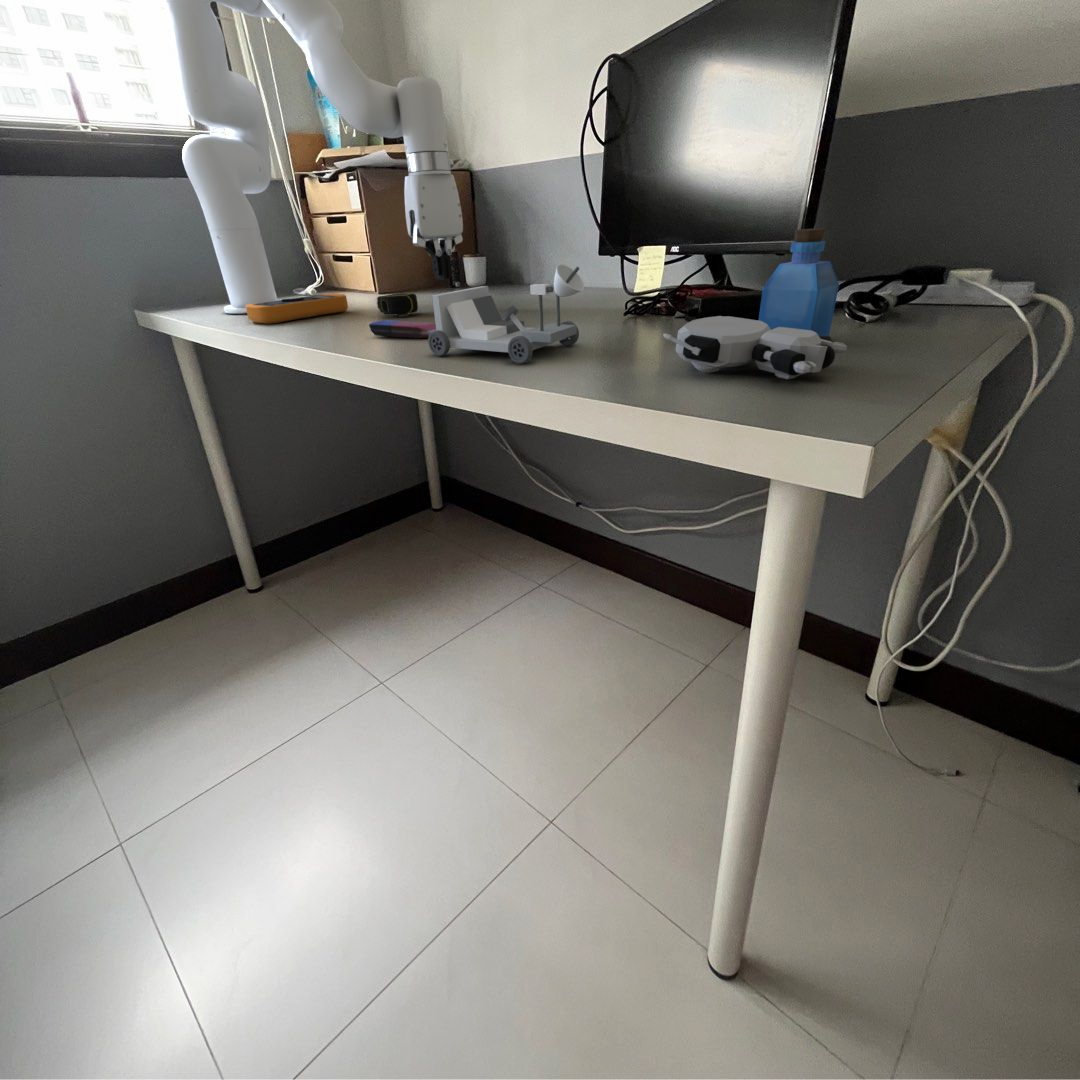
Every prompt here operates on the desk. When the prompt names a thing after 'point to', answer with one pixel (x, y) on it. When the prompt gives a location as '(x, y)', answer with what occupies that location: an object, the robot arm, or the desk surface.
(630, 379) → the desk surface
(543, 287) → the toy car
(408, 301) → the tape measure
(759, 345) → the robot toy
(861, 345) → the desk surface
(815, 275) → the perfume bottle
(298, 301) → the multimeter
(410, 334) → the eraser
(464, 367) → the desk surface
